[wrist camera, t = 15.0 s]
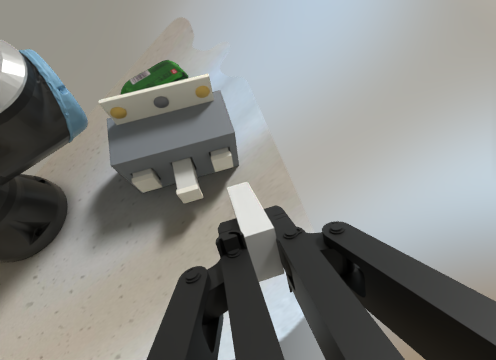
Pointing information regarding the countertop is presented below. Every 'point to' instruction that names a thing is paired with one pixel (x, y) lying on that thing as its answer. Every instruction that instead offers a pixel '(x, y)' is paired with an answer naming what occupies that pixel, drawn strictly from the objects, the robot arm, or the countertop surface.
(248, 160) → the countertop surface
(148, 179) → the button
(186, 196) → the button middle
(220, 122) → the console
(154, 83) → the snack package
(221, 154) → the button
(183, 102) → the pattern sign
